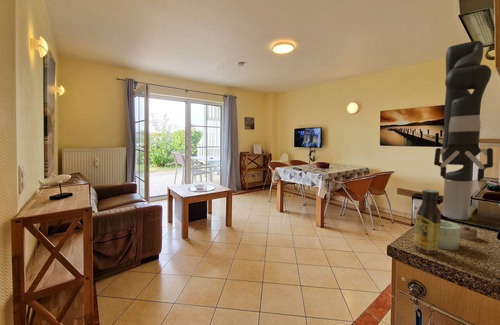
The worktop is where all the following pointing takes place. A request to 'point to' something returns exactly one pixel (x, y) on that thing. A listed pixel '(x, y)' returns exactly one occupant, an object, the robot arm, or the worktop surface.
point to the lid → (468, 233)
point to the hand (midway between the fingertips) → (460, 179)
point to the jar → (449, 235)
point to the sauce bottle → (428, 223)
